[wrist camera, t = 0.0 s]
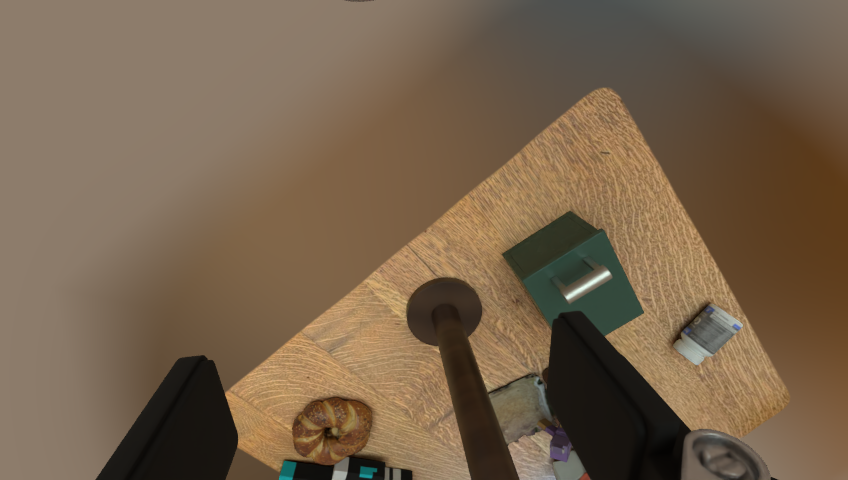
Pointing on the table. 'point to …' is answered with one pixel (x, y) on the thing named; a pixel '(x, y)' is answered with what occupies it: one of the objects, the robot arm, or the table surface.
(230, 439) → the robot arm
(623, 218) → the table surface
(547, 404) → the parchment
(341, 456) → the pretzel
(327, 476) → the toy
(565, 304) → the box lid
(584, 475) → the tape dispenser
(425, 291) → the post
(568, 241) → the green box
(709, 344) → the pill bottle
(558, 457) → the toy figure
